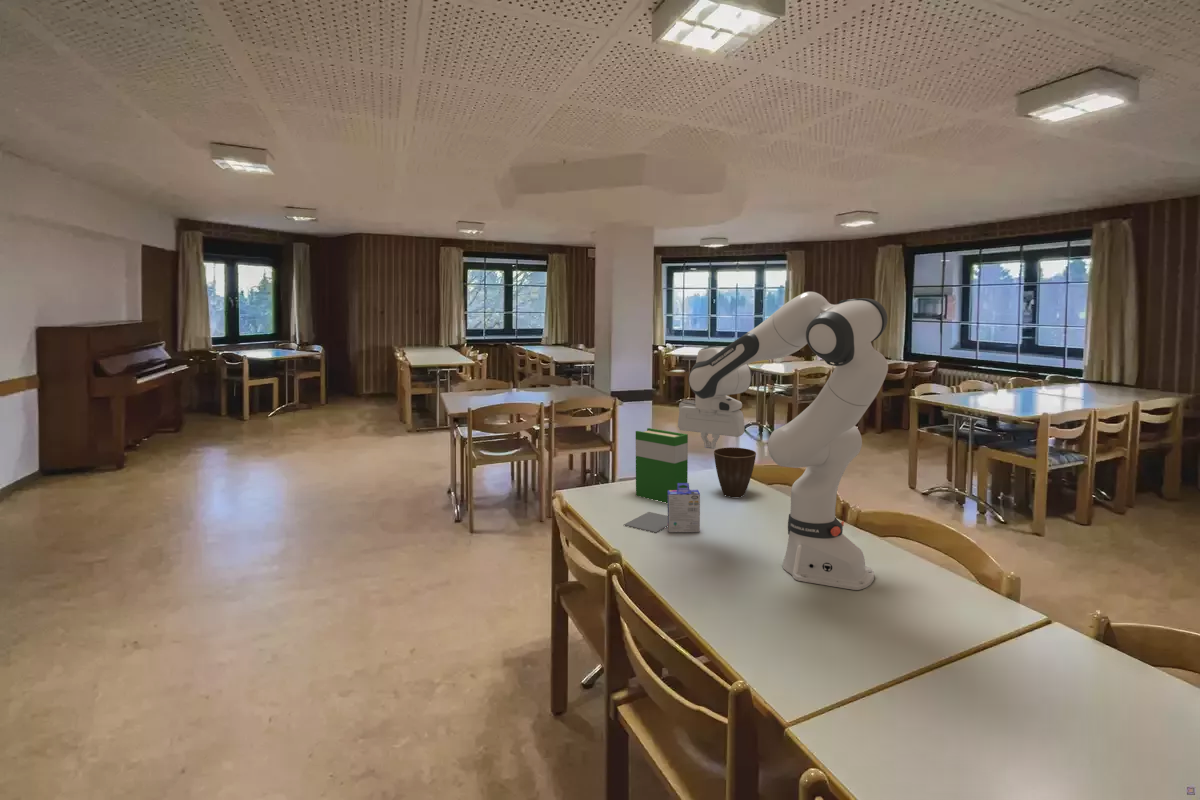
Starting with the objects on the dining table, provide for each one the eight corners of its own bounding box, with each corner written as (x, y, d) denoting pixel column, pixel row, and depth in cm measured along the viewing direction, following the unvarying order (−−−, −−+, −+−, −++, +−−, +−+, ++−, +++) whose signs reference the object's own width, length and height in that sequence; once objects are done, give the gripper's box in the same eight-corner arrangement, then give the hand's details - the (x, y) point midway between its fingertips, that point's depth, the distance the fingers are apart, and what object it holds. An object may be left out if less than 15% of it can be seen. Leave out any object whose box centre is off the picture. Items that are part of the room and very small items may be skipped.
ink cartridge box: (698, 526, 201) (698, 481, 199) (700, 532, 196) (701, 486, 193) (666, 526, 201) (666, 482, 199) (668, 533, 196) (668, 487, 194)
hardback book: (635, 495, 234) (635, 431, 230) (648, 491, 239) (648, 428, 236) (674, 505, 222) (674, 437, 218) (687, 500, 227) (687, 434, 224)
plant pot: (760, 492, 236) (761, 450, 233) (746, 503, 223) (747, 458, 221) (722, 486, 243) (722, 445, 241) (706, 497, 231) (707, 453, 229)
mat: (680, 519, 208) (680, 518, 207) (656, 533, 196) (656, 532, 196) (648, 512, 215) (648, 511, 215) (623, 525, 203) (623, 524, 203)
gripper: (674, 400, 191) (673, 445, 193) (738, 406, 179) (737, 454, 181) (684, 397, 196) (684, 442, 198) (747, 403, 184) (746, 450, 186)
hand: (709, 448), depth 189 cm, fingers closed
